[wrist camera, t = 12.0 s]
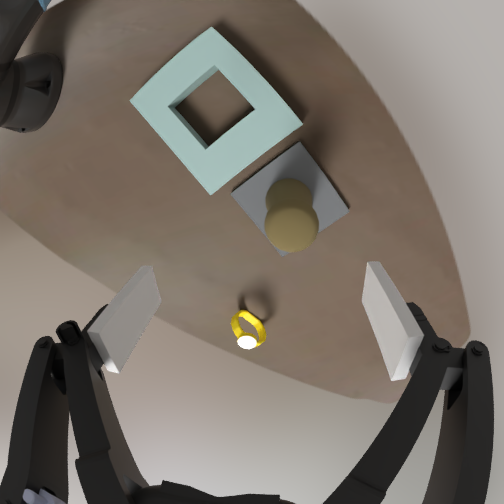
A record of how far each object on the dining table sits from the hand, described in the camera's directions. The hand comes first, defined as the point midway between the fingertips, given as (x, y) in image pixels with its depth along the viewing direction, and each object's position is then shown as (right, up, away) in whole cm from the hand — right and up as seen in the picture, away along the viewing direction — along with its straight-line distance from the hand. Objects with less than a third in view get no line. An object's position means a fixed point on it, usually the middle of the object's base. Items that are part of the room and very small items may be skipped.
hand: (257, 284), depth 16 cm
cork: (+4, +8, +18) cm, 21 cm away
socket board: (-5, +20, +15) cm, 25 cm away
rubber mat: (+5, +9, +19) cm, 21 cm away
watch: (-1, -8, +27) cm, 28 cm away
